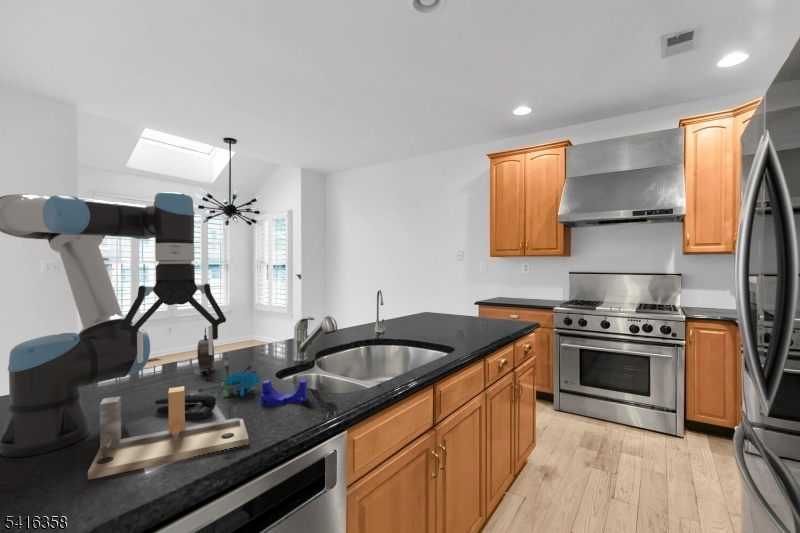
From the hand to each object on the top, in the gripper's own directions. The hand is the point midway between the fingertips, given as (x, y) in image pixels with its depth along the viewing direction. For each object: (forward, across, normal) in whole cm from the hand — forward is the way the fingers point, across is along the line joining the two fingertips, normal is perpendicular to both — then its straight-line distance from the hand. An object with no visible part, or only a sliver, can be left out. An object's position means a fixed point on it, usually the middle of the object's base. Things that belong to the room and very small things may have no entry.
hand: (176, 357), depth 86 cm
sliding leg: (+16, 0, -2) cm, 17 cm away
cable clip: (+19, +26, +14) cm, 35 cm away
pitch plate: (+19, 0, -3) cm, 19 cm away
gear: (+19, +16, +28) cm, 37 cm away
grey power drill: (+19, +7, +59) cm, 62 cm away
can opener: (+19, +1, +18) cm, 26 cm away
